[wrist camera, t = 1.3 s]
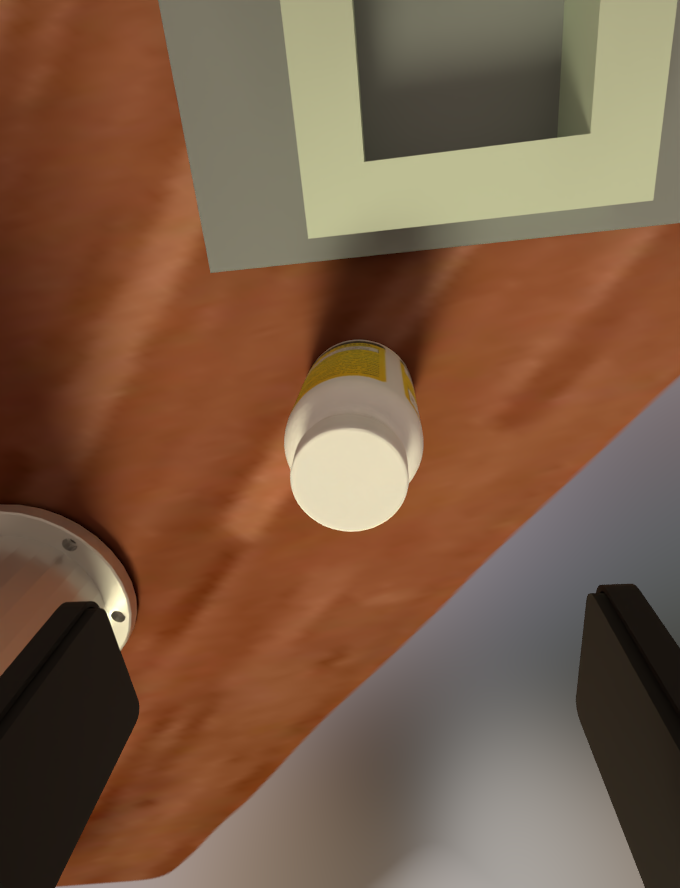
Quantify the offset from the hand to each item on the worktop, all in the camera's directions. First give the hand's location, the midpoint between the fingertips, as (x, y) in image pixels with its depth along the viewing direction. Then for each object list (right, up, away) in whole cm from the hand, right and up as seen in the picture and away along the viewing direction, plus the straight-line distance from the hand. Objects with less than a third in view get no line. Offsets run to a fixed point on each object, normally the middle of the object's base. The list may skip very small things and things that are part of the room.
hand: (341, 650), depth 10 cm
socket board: (+4, +19, +10) cm, 22 cm away
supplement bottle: (+1, +7, +16) cm, 18 cm away
